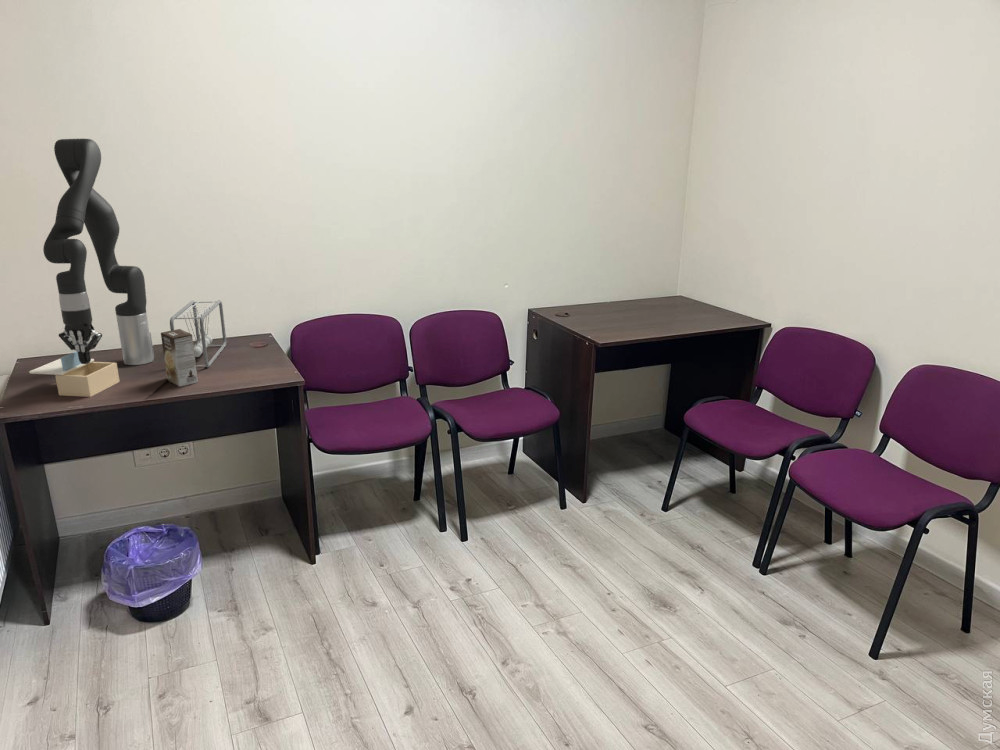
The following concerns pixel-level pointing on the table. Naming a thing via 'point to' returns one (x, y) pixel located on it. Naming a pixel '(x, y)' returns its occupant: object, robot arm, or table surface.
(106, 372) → the storage box
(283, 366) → the table surface
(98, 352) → the table surface
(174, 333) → the coffee box
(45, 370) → the lid
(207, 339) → the newton's cradle
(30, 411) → the table surface
